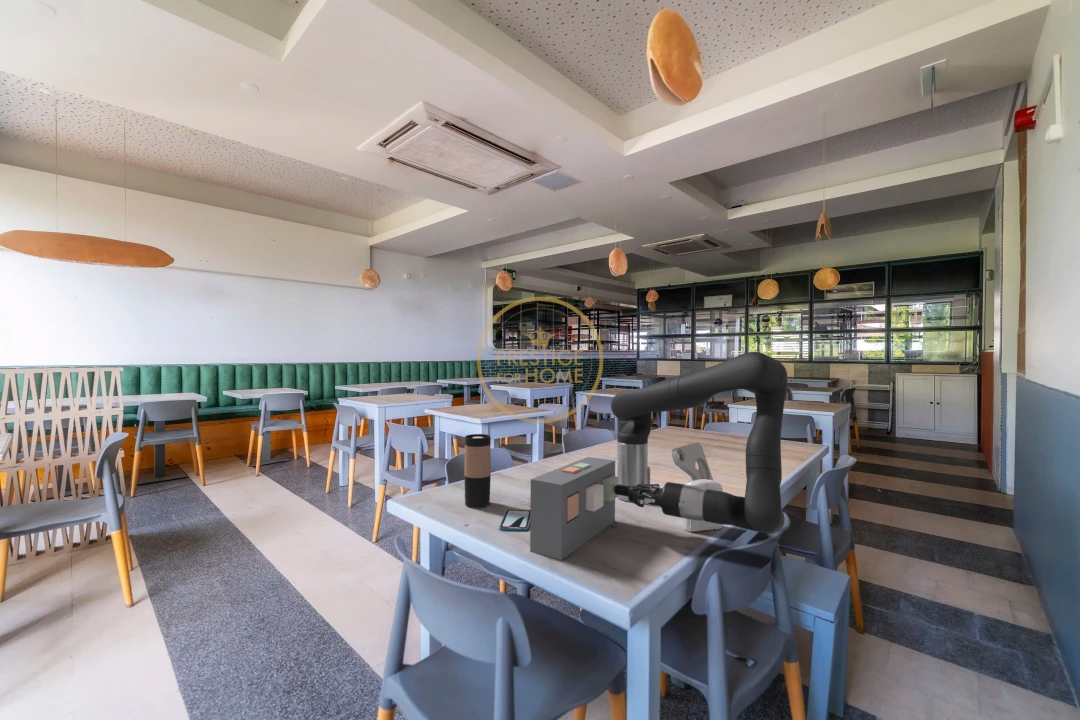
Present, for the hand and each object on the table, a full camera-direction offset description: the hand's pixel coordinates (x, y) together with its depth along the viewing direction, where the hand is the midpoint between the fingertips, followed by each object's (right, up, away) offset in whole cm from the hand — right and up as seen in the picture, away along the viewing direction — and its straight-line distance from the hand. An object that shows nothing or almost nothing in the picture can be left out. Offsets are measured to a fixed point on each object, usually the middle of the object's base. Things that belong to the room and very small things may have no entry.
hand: (615, 489), depth 113 cm
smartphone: (-25, -10, +6) cm, 28 cm away
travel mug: (-38, -10, +19) cm, 43 cm away
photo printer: (+22, -10, +1) cm, 24 cm away
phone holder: (+27, -10, +16) cm, 33 cm away
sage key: (-2, -2, +1) cm, 4 cm away
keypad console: (-10, -10, -4) cm, 15 cm away
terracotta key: (-14, -2, -13) cm, 19 cm away
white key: (-7, -2, -6) cm, 10 cm away
